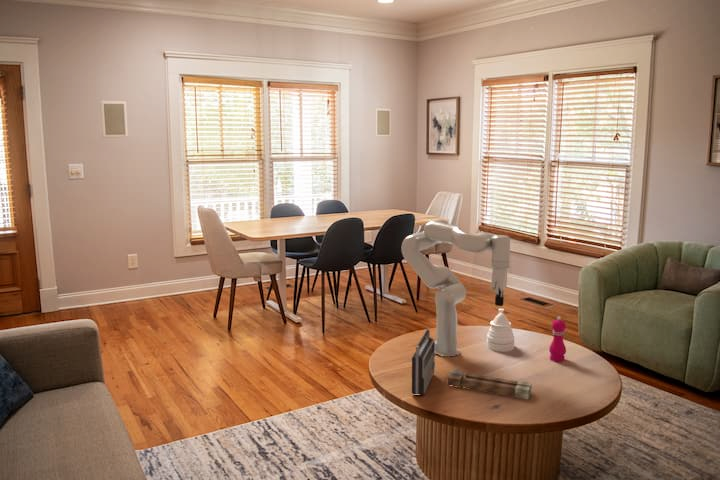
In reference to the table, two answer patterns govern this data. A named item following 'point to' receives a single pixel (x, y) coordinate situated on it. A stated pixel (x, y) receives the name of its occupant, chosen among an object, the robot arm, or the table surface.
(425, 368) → the radio
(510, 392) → the tongs base
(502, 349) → the honey pot
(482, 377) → the tongs arm
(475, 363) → the table surface
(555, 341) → the pepper mill
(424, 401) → the table surface
